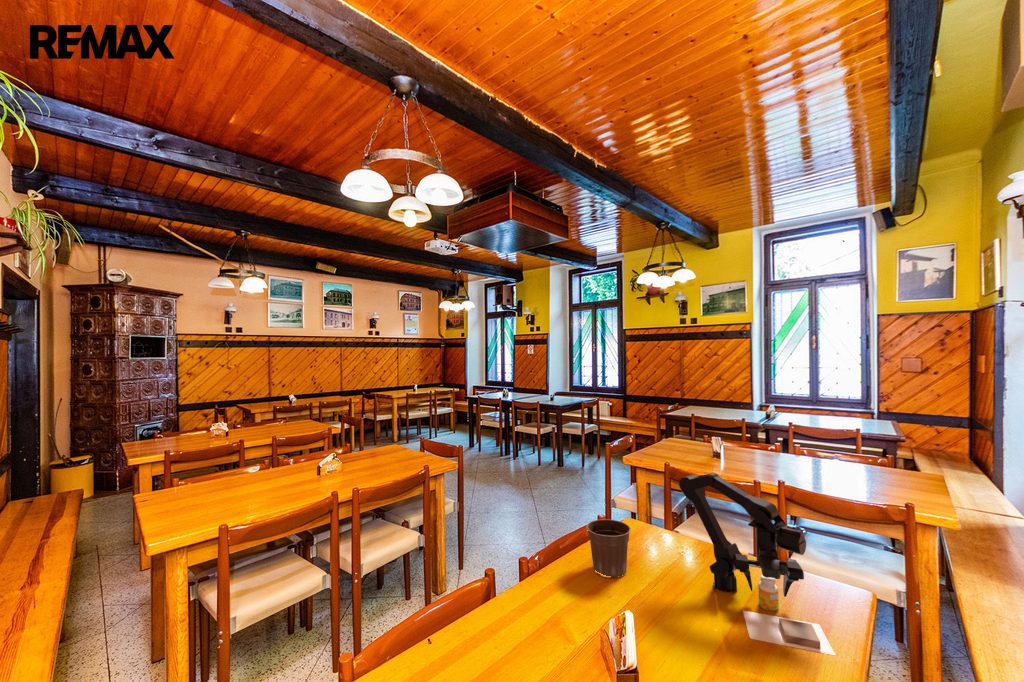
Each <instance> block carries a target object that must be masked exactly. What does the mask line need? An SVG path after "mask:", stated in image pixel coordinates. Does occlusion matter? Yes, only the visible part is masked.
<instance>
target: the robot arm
mask: <svg viewBox="0 0 1024 682" xmlns="http://www.w3.org/2000/svg"><path fill="white" fill-rule="evenodd" d="M678 487H679V489H680V490H681V493H683V495H684V496H685V498H686V499H688V500H689V502H691V503H692V504H693V507H694V508H695V510H696V513H697V515H698V517H699V519H700V520H701V522H702V525H703V526H704V529H705V531H706V533H707V535H708V537H709V539H710V541H711V543H712V547H713V556H714V558H715V562H714V563H712V564H711V565H709V570H710V572H711V574H713V583H712V584H714V585H713V589H714V593H716V590H719V591H720V592H724V593H732V592H734V593H735V592H736V593H737V592H738V581H737V580H738V579H737V576H736V575H735V571H736V570H738V571H739V572H740V573H742V574H744V576H745V578H746V581H747V583H748V586H749V589H750V592H753V583H752V578H751V577H752V576H751V570H750V567H752V568H758V569H760V570H761V575H763V576H764V577H767V578H768V577H771V578H775V580H780V579H781V576H783V582H782V585H783V586H782V591H783V597H785V598H786V597H787V595H788V593H789V590H790V588H791V585H792V584H793V583H794V582H799V580H802V581H803V580H804V579H805V574H804V569H803V568H802V566H801V564H799V562H795V561H789V560H785V561H781V560H780V559H779V557H778V548H779V549H781V550H784V551H788V552H791V553H795V554H797V555H801V556H804V554H805V552H806V550H807V540H806V538H805V535H804V533H803V531H802V530H801V529H795V528H791V527H787V523H786V522H785V520H784V519H783V517H782V516H781V514H780V513H779V510H778V508H777V506H776V505H775V504H774V503H773V502H770V501H768V500H766V499H763V498H761V497H757V496H753V495H751V494H749V493H748V492H746V491H745V490H743V489H741V488H740V487H737V485H734V484H732V483H731V482H730V481H728V480H726V479H724V478H723V477H722V476H720V475H719V474H717V473H716V472H710V473H707V474H702V475H697V474H690V475H687V476H684V477H681V478H680V479H679V482H678ZM706 487H710V488H713V489H714V490H716V491H717V492H718V493H720V494H721V495H723V496H725V497H726V498H728V499H729V500H731V501H733V502H734V503H736V504H737V505H738V506H741V508H743V509H744V510H745V512H746V513H747V514H748V515H749V517H751V518H752V521H751V522H749V523H748V524H747V525H748V526H749V527H752V528H755V547H756V548H755V550H756V551H755V552H756V553H755V554H756V555H755V557H756V560H754V559H748V556H747V554H742V553H741V551H740V549H739V547H738V545H737V543H736V542H734V543H731V542H730V541H729V540H728V539H727V537H726V535H725V534H724V531H723V530H722V527H721V525H720V523H719V522H718V519H717V518H716V516H715V514H714V512H713V510H712V508H711V506H710V504H709V501H708V500H707V497H706ZM773 521H774V522H773Z"/></svg>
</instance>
